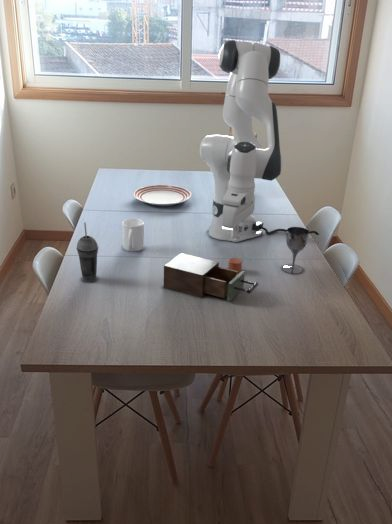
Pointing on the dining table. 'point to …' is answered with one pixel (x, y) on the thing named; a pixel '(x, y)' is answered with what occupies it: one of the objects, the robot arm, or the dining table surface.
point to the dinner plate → (162, 195)
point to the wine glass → (295, 245)
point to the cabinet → (187, 274)
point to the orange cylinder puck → (235, 264)
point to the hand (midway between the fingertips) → (237, 232)
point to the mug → (133, 234)
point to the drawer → (226, 283)
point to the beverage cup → (88, 256)
